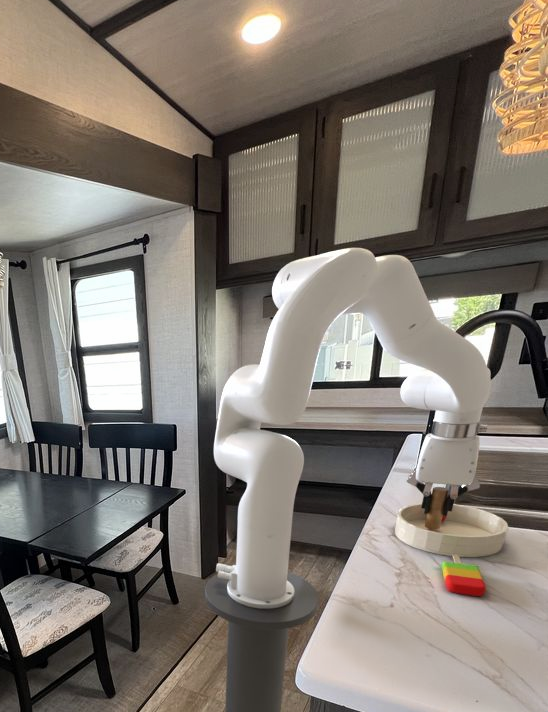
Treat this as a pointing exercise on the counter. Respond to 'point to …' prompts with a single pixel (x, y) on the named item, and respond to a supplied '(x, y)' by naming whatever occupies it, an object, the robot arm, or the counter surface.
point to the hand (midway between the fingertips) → (435, 512)
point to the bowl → (453, 531)
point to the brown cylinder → (436, 507)
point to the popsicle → (463, 578)
